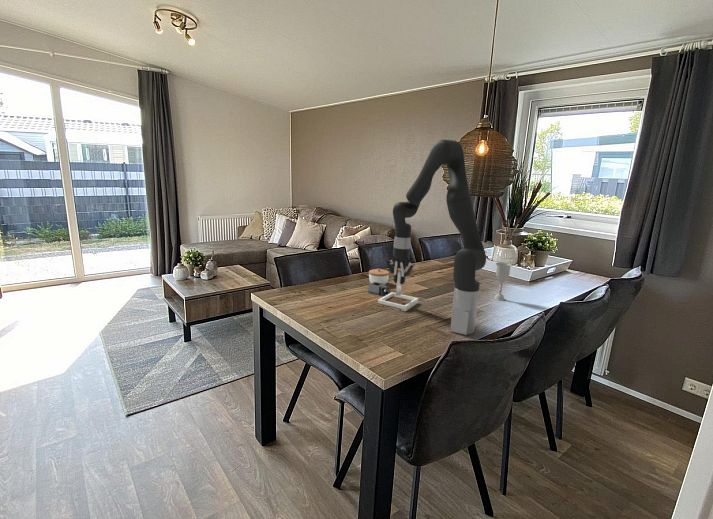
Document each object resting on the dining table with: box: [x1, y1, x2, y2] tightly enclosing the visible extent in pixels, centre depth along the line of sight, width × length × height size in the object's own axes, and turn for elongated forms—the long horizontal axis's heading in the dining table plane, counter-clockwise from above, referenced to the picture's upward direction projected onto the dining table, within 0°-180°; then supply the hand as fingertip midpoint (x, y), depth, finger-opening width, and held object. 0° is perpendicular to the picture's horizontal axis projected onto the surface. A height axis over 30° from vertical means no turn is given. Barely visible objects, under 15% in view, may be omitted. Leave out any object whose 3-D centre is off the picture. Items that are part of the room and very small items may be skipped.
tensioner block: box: [364, 282, 395, 298], centre depth 189 cm, size 9×12×5 cm
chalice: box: [493, 262, 513, 302], centre depth 187 cm, size 7×7×18 cm
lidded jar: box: [368, 267, 390, 285], centre depth 203 cm, size 11×11×9 cm
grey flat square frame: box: [377, 291, 419, 312], centre depth 176 cm, size 14×14×2 cm
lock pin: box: [395, 268, 403, 295], centre depth 174 cm, size 3×3×13 cm
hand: (399, 283), depth 174 cm, fingers closed on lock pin, 2 cm apart
